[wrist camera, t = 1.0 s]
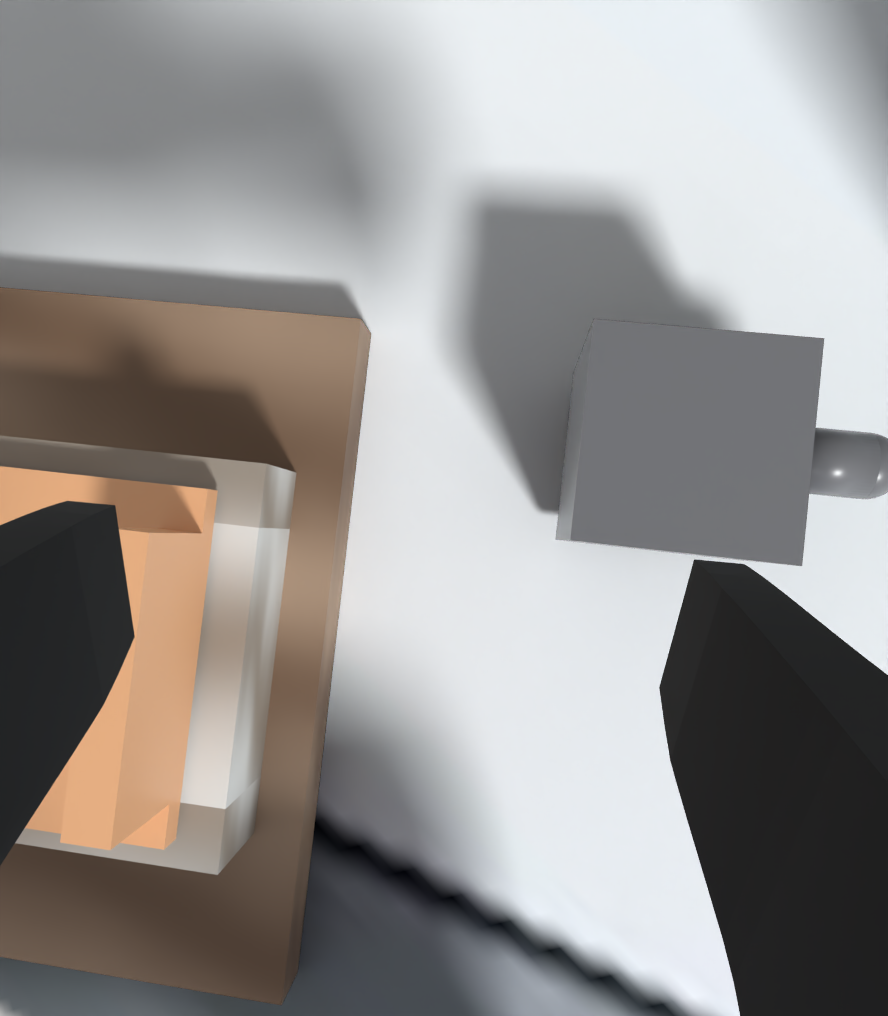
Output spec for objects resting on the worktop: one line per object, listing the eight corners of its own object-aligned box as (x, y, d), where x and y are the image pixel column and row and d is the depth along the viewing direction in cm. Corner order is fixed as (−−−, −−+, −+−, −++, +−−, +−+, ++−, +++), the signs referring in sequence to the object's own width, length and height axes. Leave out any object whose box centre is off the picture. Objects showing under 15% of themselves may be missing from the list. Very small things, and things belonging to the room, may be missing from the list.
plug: (806, 567, 20) (922, 579, 15) (554, 539, 21) (570, 540, 15) (822, 401, 21) (944, 348, 15) (571, 378, 21) (593, 318, 15)
